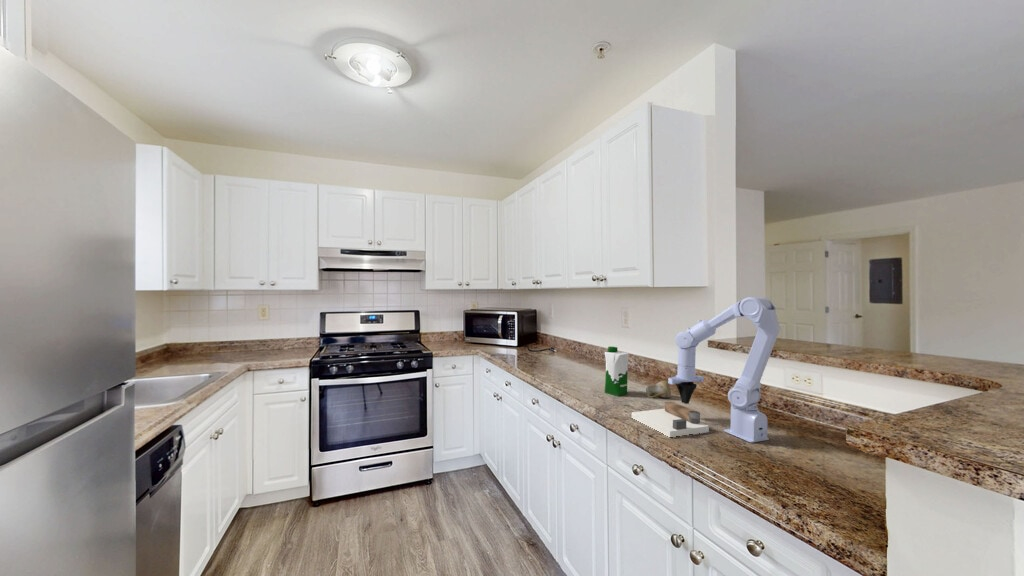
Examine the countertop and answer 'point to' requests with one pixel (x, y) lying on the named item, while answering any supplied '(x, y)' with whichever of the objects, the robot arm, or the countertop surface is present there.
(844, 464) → the countertop surface
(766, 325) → the robot arm
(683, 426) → the stool seat
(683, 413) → the folding leg
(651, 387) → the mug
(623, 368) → the milk carton
